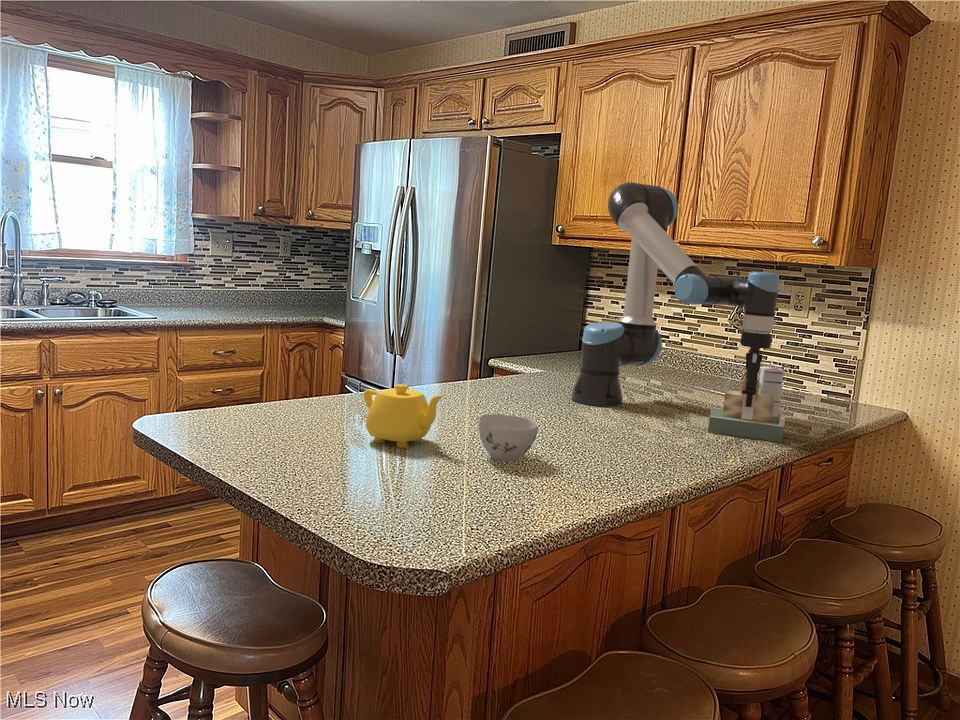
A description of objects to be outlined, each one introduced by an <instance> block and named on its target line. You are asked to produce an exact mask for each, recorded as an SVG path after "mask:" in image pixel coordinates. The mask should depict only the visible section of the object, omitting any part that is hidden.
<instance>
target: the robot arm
mask: <svg viewBox="0 0 960 720" xmlns="http://www.w3.org/2000/svg"><path fill="white" fill-rule="evenodd" d="M678 209H679V206H678V200H677V198H676V196H675V195H674V193H673V191H671V190H670V189H668V188H665V187H662V186H659V185H651V184H646V183H638V182H633V181H631V182H630V181H629V182H625V183H621V184H620V185H618V186H616V187H615V188H614V189H613V190H612V191H611V193H610V194H609V197H608V201H607V211H608V213H609V216H610V218H611V220H612V221H613V222H614V224H615V225H616V226H617V227H618V228H619V229H620V230H621V231H622V232H627V233H628V234H629V235H630V236H631V242H630V243H631V244H630V249H629V250H630V253H629V261H628V271H627V280H626V289H625V297H624V298H625V300H624V309H623V315H622V316H621V317H619V319H617V322H610V321H609V322H592V323H589V324H587V325H586V326H585V327H584V328H583V334H582V335H583V336H582V337H581V341H582V342H581V351H580V352H581V353H580V355H581V356H580V365H579V373H578V376H577V378H576V381H575V383H574V386H573V389H572V390H571V396H570V398H571V400H572V401H574V402H576V403H580V404H583V405H584V404H585V405H589V406H596V407H597V406H598V407H619V406H622V405H623V397H624V396H623V392H622V388H621V383H620V369H621V367H625V366H626V367H627V366H630V367H631V366H632V367H633V366H634V367H641V366H645V365H647V366H648V365H649V364H652V363H653V362H654V361H655V360H657V359H658V357H659V355H660V354H661V352H662V347H663V340H662V339H663V338H662V336H661V334H660V332H659V331H658V330H657V322H656V321H655V319H654V318H653V311H654V304H655V303H654V302H655V295H656V286H657V279H658V277H657V276H658V269H660V270H661V271H662V272H663V274H664V275H666V277H668V279H669V280H670V281H671V283H672V284H673V285H674V287H673V290H674V293H675V297H676V299H677V300H678V301H680V302H681V303H684V304H688V305H695V306H696V305H714V306H715V305H716V306H731V307H734V306H735V307H741V308H744V309H743V311H744V313H743V317H742V323H741V325H742V326H741V329H742V330H743V331H742V332H741V334H740V345H741V346H743V347H747V348H749V350H748V352H746V353H745V370H746V371H745V378H747V380H746V388H745V390H742V389H741V391H742V394H744V399H743V407H742V415H741V419H748V420H752V418H753V410H754V402H755V394H756V385H757V379H758V376H759V374H758V373H759V372H760V371H761V362H762V361H763V354H762V353H760V351H761V349H770V348H771V346H772V339H773V335H772V332H773V329H774V325H777V320H775V315H776V314H775V313H776V307H777V306H776V305H777V300H778V294H779V284H780V277H779V275H778V273H775V272H764V271H749V273H748V277H746V278H743V277H742V278H741V277H735V276H733V277H731V276H726V275H716V276H715V275H707V274H706V273H704V272H703V270H702V269H700V268H699V267H698V265H697V264H696V263H695V262H694V261H693V260H692V258H691V257H689V255H688V254H686V252H685V251H684V250H683V249H682V247H681V246H679V245H678V244H677V242H676V241H674V239H673V238H672V237H671V236H670V235H669V234H668V227H669V226H671V225H672V224H673V223H674V221H675V220H676V218H677V216H678Z"/></svg>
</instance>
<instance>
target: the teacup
mask: <svg viewBox="0 0 960 720" xmlns="http://www.w3.org/2000/svg"><path fill="white" fill-rule="evenodd" d="M538 431H539V423H538V422H536V421H535V420H530V419H529V418H526V417H522V416H519V415H518V416H515V415H507V414H501V413H495V414H494V413H493V414H492V413H490V414H489V413H488V414H483V415H481V416H479V418H478V433H479V438H480V440H481V443H482V446H483V447H484V449H485V450H486V451H487V452H488V454H489V455H490V457H491V458H492V459H494V460H497V461H502V462H506V463H507V462H508V463H510V462H512V463H513V462H518V461H519V460H520V458H522V457H523V456H524V455H525V454H526V453H527V452H528V451H529V450H531V448H532V446H533V444H534V442H535V440H536V437H537V435H538Z"/></svg>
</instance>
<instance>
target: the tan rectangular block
mask: <svg viewBox="0 0 960 720" xmlns="http://www.w3.org/2000/svg"><path fill="white" fill-rule="evenodd" d="M743 399H744V395H741V391H738V390H728V389H725V392H724V401H723V408H722V409H723V416H727V417H735V418H741V415H742V407H743ZM773 405H774V397H773V396H770V395H762V394H758V397H755V402H754V410H753V418H752V420H757V421H764V422H771V419H772V412H773Z"/></svg>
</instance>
